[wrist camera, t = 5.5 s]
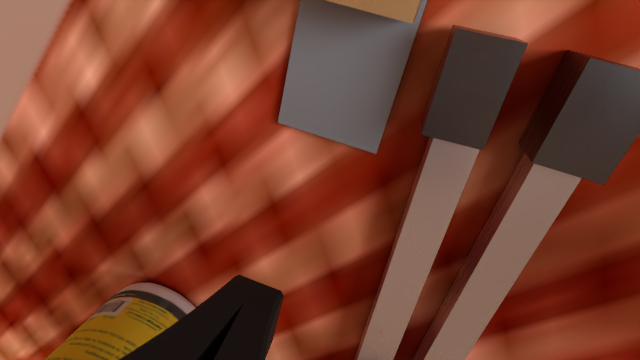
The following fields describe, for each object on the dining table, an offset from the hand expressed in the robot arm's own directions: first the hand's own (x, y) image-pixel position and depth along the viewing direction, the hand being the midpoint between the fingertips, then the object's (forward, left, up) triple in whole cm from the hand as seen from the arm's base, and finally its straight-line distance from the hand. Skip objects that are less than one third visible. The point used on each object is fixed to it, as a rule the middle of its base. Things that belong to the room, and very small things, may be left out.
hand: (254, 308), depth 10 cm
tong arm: (-5, +1, -6) cm, 7 cm away
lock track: (0, -7, -6) cm, 9 cm away
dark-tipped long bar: (-6, +1, -6) cm, 9 cm away
